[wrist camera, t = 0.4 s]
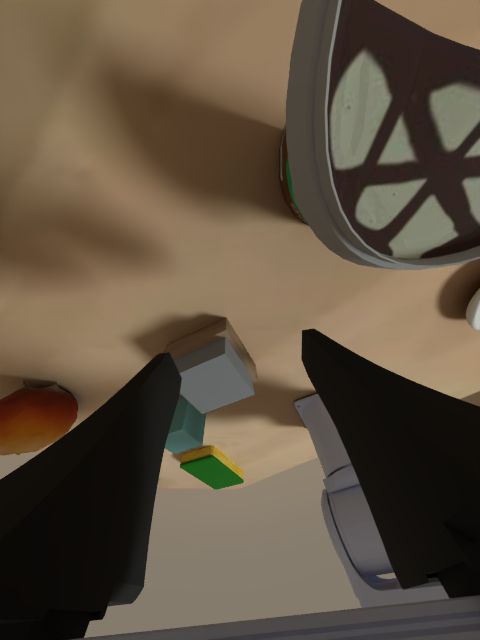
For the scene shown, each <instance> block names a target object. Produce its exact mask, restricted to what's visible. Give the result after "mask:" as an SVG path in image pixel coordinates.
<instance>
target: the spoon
mask: <svg viewBox="0 0 480 640" xmlns="http://www.w3.org/2000/svg"><path fill="white" fill-rule="evenodd" d="M466 319H467V322H468V324H469V325H470V326H471V327H472V328H473V329H475V330H480V288H479V289H478V291H477V292H476V293H475V294H474V296H473V297H472V299H471V301H470V302H469V304H468V307H467V310H466Z"/></svg>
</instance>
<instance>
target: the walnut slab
mask: <svg viewBox="0 0 480 640" xmlns="http://www.w3.org/2000/svg"><path fill="white" fill-rule="evenodd" d="M225 337H226V339H227V340H228V342H229V343H230V345H231V346H232V348H233V349H234V351H235V352H236V354H237V355H238V357H239V358H240V360H241V361H242V362H243V364H244V365H245V367H246V368H247V370H248V371H249V373H250V374H251V376H252V380H253V381H254V380H257V379H258V377H257V371H256V366H255V363H254V361H253V360H252V358H251V356H250V355H249V353H248V352H247V350H246V348H245V347H244V345H243V344H242V342H241V340H240V339H239V337H238V335H237V334H236V332H235V331H234V329H233V327H232V326H231V324H230V322H229V321H228V319H227V318H224V319H222V320H220V321H218V322H216V323H213V324H211V325H209V326H207V327H205V328H203V329H200V330H198V331H196V332H194V333H192V334H190V335H188V336H185V337H183V338H181V339H179V340H177V341H175V342H172V343H170V344H168V345H167V346H166V348H165V350H164V352H163V353H167V352H170V354H171V356H172V358H173V360H176V359H178V358H180V357H182V356H185V355H187V354H189V353H191V352H194V351H196V350H198V349H200V348H202V347H205V346H207V345H209V344H211V343H214V342H216V341H218V340H220V339H223V338H225Z"/></svg>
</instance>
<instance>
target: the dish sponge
mask: <svg viewBox="0 0 480 640" xmlns="http://www.w3.org/2000/svg"><path fill="white" fill-rule="evenodd" d="M180 468H182V469H184V470H185V471H187V472H188V473H190V474H191V475H193V476H195V477H196V478H198V479H199V480H201V481H202V482H204V483H206V484H207V485H209V486H210V487H212V488H214V489H221V488H225V487H229V486H233V485H237V484H241V483H243V482H244V481H243V470H241V469H240V468H239V467H238V466H237V465H236V464H234V463H233V462H232V461H231V460H230V459H229V458H227V457H226V456H225V455H224V454H223V453H222V452H220V451H219V450H218V449H217V448H216V447H215V446H208V447H205V448H202V449H199V450H195V451H192V452H189V453H186V454H183V455H182V459H181V464H180Z"/></svg>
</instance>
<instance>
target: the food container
mask: <svg viewBox="0 0 480 640" xmlns="http://www.w3.org/2000/svg"><path fill="white" fill-rule="evenodd" d="M279 180H280V183H281V187H282V191H283V195H284V199H285V201H286V203H287V204H288V206H289V207H290V209H291V211H292V212H293V214H294V215H295V216H296V217H297V218H299V219H300V220H301V221H303V222H304V223H305V224H307V225H309V226H310V227H311V229H312V230H313V232H314V233H315V235H316V236H317V237H318V238H319V239H320V240H321V241H322V242H323V244H324V245H325V246H326V247H327V248H328V249H329V250H331V251H333V252H334V253H336V254H337V255H339V256H340V257H342V258H343V259H346V260H348V261H351V262H353V263H356V264H358V265H364V266H369V267H375V268H385V269H396V270H421V269H428V268H437V267H444V266H451V265H458V264H462V263H465V262H469V261H473V260H476V259H480V50H478V49H475V48H472V47H469V46H465V45H463V44H460V43H457V42H455V41H452V40H449V39H447V38H444V37H442V36H439V35H436V34H434V33H432V32H430V31H428V30H426V29H425V28H423V27H421V26H419V25H417V24H416V23H414V22H412V21H410V20H408V19H406V18H405V17H403V16H401V15H399V14H397V13H396V12H394V11H392V10H390V9H388V8H387V7H385V6H383V5H381V4H379V3H378V2H376V1H374V0H303V1H302V3H301V6H300V12H299V17H298V22H297V27H296V32H295V38H294V43H293V48H292V53H291V61H290V71H289V80H288V90H287V100H286V124H285V127H284V130H283V135H282V140H281V145H280V150H279Z"/></svg>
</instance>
